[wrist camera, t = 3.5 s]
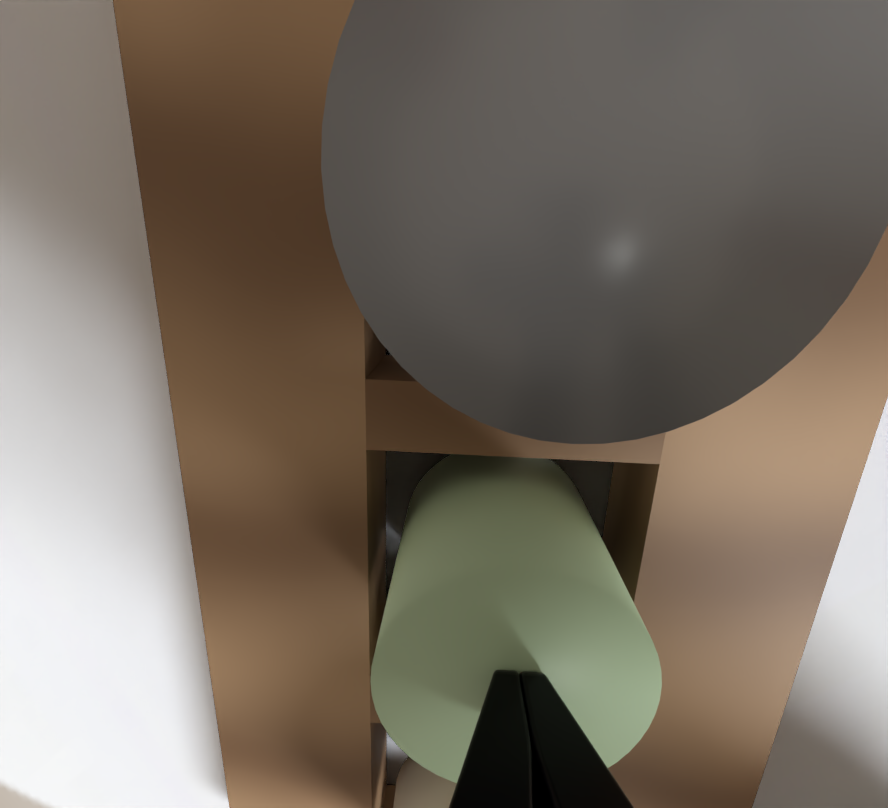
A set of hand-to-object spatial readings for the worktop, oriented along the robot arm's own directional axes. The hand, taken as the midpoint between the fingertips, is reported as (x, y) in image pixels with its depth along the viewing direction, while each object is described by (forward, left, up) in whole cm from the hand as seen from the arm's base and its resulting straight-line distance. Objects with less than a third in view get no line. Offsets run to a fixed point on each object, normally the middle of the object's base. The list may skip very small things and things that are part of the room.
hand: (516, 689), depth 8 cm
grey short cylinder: (+8, 0, -3) cm, 8 cm away
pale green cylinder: (0, 0, -5) cm, 5 cm away
